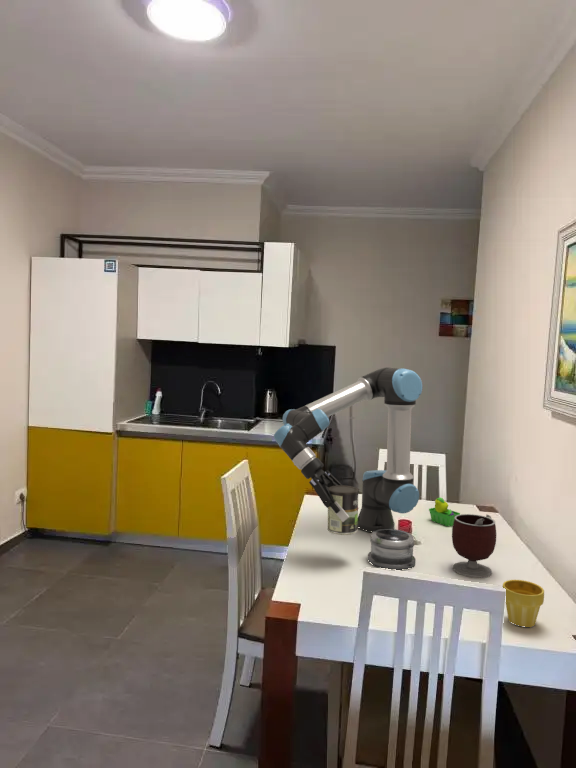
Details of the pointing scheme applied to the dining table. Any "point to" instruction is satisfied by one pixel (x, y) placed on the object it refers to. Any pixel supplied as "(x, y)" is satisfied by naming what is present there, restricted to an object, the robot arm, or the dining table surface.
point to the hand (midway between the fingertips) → (351, 515)
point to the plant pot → (523, 601)
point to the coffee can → (349, 503)
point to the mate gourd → (473, 543)
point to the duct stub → (392, 549)
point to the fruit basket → (442, 513)
